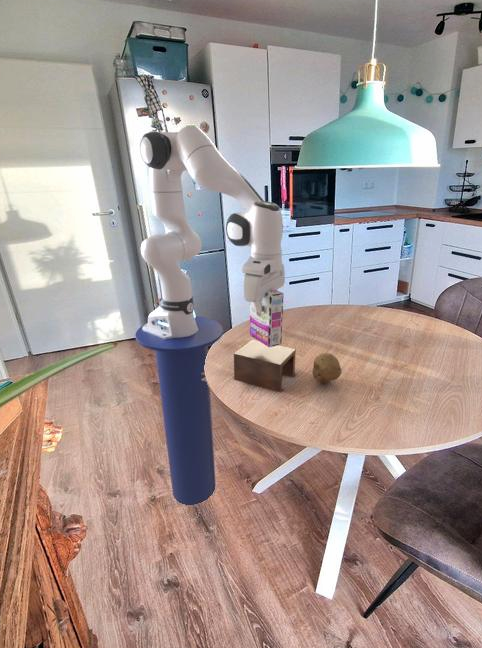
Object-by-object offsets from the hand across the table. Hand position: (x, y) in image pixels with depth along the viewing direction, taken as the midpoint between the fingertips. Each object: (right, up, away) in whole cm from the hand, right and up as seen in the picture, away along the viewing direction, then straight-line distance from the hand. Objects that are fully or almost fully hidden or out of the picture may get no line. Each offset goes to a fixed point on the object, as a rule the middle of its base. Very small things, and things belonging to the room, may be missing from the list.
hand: (265, 307), depth 116 cm
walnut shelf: (-1, -22, +10) cm, 24 cm away
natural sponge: (+19, -23, +9) cm, 31 cm away
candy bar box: (0, -10, +5) cm, 11 cm away
